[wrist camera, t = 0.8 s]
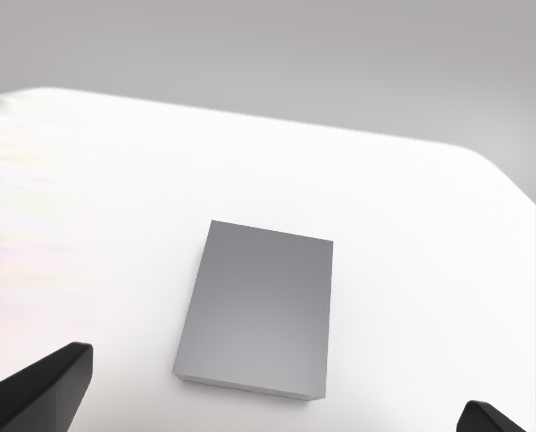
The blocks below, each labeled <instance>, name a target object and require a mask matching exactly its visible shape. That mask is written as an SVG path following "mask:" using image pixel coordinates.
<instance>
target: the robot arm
mask: <svg viewBox="0 0 536 432" xmlns="http://www.w3.org/2000/svg"><path fill="white" fill-rule="evenodd" d="M92 372H93V347H92V345H91V344H88V343H82V342H72V343H70V344H68V345H66V346H64V347H63V348H61V349H59V350H57V351H55V352H53V353H52V354H50V355H48V356H46V357H44V358H42V359H41V360H39V361H37V362H35V363H33V364H32V365H30V366H28V367H26V368H24V369H22V370H21V371H19V372H17V373H15V374H13V375H11V376H10V377H8V378H6V379H4V380H2V381H1V382H0V432H67V431H68V428H69V426H70V424H71V422H72V420H73V418H74V416H75V414H76V411H77V409H78V407H79V405H80V403H81V401H82V399H83V397H84V394H85V392H86V390H87V388H88V386H89V384H90V381H91V378H92ZM456 432H526V431H525V430H523V429H522V428H521V427H519V426H518V425H517V424H515V423H514V422H513V421H511V420H510V419H509V418H508V417H506V416H505V415H504V414H502V413H501V412H500V411H498V410H497V409H496V408H494V407H493V406H492V405H490V404H489V403H486V402H482V401H475V400H470V401H469V402H467V404H466V406H465V408H464V410H463V412H462V414H461V417H460V419H459V421H458V423H457V427H456Z"/></svg>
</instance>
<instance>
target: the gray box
mask: <svg viewBox="0 0 536 432" xmlns="http://www.w3.org/2000/svg"><path fill="white" fill-rule="evenodd" d="M332 255H333V241H328V240H323V239H317V238H311V237H306V236H300V235H294V234H289V233H283V232H277V231H272V230H266V229H260V228H254V227H249V226H243V225H237V224H232V223H226V222H220V221H215V220H212V221H211V225H210V229H209V233H208V236H207V240H206V244H205V248H204V252H203V256H202V260H201V264H200V267H199V271H198V275H197V279H196V283H195V287H194V291H193V295H192V299H191V302H190V306H189V310H188V314H187V318H186V322H185V326H184V330H183V333H182V337H181V341H180V345H179V349H178V353H177V357H176V361H175V364H174V368H173V372H172V373H174V374H175V375H176V376H177V377H178V378H180V379H181V380H184V381H190V382H196V383H202V384H208V385H214V386H220V387H226V388H232V389H238V390H244V391H250V392H256V393H262V394H268V395H274V396H280V397H286V398H292V399H298V400H304V401H312V400H317V399H322V398H325V392H326V373H327V353H328V334H329V314H330V294H331V275H332Z"/></svg>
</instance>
